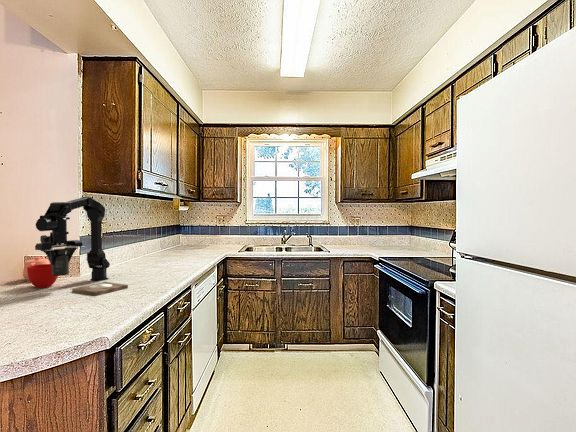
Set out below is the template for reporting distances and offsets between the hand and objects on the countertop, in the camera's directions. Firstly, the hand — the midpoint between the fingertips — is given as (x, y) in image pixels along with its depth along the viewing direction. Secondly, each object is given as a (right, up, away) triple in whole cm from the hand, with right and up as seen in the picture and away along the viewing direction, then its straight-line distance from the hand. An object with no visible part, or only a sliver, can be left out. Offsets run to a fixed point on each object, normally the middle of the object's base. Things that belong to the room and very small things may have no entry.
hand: (60, 263), depth 172 cm
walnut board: (+17, -13, +3) cm, 21 cm away
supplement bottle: (0, -5, 0) cm, 5 cm away
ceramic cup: (-16, -13, +12) cm, 23 cm away
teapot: (-29, -12, +28) cm, 42 cm away
